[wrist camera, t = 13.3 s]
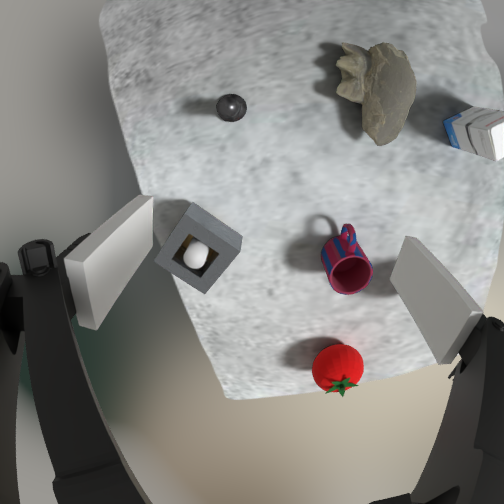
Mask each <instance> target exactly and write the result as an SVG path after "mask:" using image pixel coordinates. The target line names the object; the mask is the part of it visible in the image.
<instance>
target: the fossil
mask: <svg viewBox="0 0 504 504" xmlns="http://www.w3.org/2000/svg"><path fill="white" fill-rule="evenodd" d="M342 49H343V50H344V52H345V55H344V56H341V57H340V60H337V63H336V66H337V67H339V68H340V70H341V74H342V80H341V83H340V84H339V86H338V87H337V91H336V93H337V94H338V95H339V96H342V97H344V98H346V99H348V100H350V101H352V102H357V103H359V104H362V128H363V130H364V131H365V132H366V133H367V134H368V135H369V136H370V137H371V138H372V139H373V140H374V142H375V143H376V144H377V146H382V145H385V144H388V143H390V142H391V141H393V140H394V139H396V138H397V136H398V133H399V132H400V131H401V129H402V128H403V126H404V124H405V120H406V118H407V116H408V114H409V109H410V107H411V105H412V103H413V101H414V98H415V93H416V79H415V76H414V72H413V70H412V69H411V66H410V63H409V60H408V57H407V55H406V54H405V53H404V52H403V51H400V50H397V49H396V48H395V47H394V46H393V45H392V44H389V43H384V42H383V43H381V44H378V45H375V46H373V47H371V48H370V49H369V50H368V51H367V50H366V49H364V48H362V47H359V46H356V45H352V44H348V43H342Z"/></svg>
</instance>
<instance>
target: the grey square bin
mask: <svg viewBox="0 0 504 504" xmlns="http://www.w3.org/2000/svg"><path fill="white" fill-rule="evenodd" d="M188 234H191V235H192V236H194V237H195V238H197V239H198V240H200V241H201V242H203V243H204V244H206V245H207V246H209V247H210V248H212V249H213V250H215V251H214V252H213V253H212V255H211V256H210V257H209V259H208V260H207V261H205V263H204V265H203V266H202V267H200V268H197V269H194V268H190V267H189V266H187V265H186V264H185V262H184V254H185V252H186V250H187V248H185V247H184V246H182V245H181V244H182V243H183V241H184V240H185V239H186V237H187V236H188ZM242 237H243V236H241V235H240V234H239V233H237V232H236V231H234V230H233V229H231V228H230V227H228V226H227V225H226V224H224V223H223V222H221V221H220V220H218V219H217V218H215V217H214V216H213V215H211V214H210V213H208V212H207V211H205V210H204V209H202V208H201V207H199V206H198V205H197V204H195V203H194V202H192V204H191V205H190V206H189V208H188V209H187V211H186V212H185V213H184V215H183V216H182V218H181V219H180V221H179V222H178V224H177V225H176V227H175V229H174V230H173V232H172V233H171V235H170V236H169V238H168V239H167V241H166V242H165V244H164V246H163V247H162V249H161V250H160V252H159V253H158V255H157V257H156V258H155V260H154V262H156V263H157V264H158V265H160V266H161V267H163V268H165V269H166V270H168V271H169V272H171V273H172V274H174V275H175V276H177V277H178V278H180V279H181V280H183V281H185V282H186V283H188V284H189V285H191V286H192V287H194V288H196V289H197V290H199V291H200V292H202V293H204V294H206V292H207V291H208V290H209V289H210V287H211V286H212V285H213V284H214V283H215V281H216V280H217V279H218V278H219V277H220V275H221V274H222V273H223V272H224V271H225V269H226V268H227V267H228V266H229V265H230V263H231V262H232V261H233V260H234V259H235V257H236V256H237V255H238V254H239V253H240V250H241V244H242Z"/></svg>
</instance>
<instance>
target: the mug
mask: <svg viewBox="0 0 504 504" xmlns="http://www.w3.org/2000/svg"><path fill="white" fill-rule="evenodd" d="M347 234H349V236H347ZM321 259H322V263H323V265H324V268H325V271H326V274H327V277H328V280H329V283H330V285H331V287H332V288H333V289H334V290H335V291H336V292H338V293H340V294H345V295H349V294H354V293H357V292H359V291H361V290H362V289H364V288H365V287H366V286H367V285H368V284H369V282H370V280H371V278H372V274H373V269H372V265H371V263H370V261H369V260H368V258H367V257H366V255H365V253H364V252H363V250H362V249H361V247H360V246H359V244H358V243H357V241H356V233H355V230H354V228H353V226H352V225H351V224H344V225H343V227H342V230H341V235H340V236H337V237H334V238H332V239H330V240H329V241H328V242H327V243H326V244H325V245H324V247H323V249H322V252H321Z"/></svg>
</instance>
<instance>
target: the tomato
mask: <svg viewBox="0 0 504 504" xmlns="http://www.w3.org/2000/svg"><path fill="white" fill-rule="evenodd" d="M363 369H364V365H363V359H362V357H361V355H360V354H359V352H358V351H357V350H356V349H354V348H353V347H351V346H349V345H344V344H336V345H332V346H329V347H327V348H325V349H324V350H322V351H321V352H320V353H319V354H318V355H317V357H316V358H315V360H314V362H313V367H312V374H313V377H314V380H315V382H316V384H317V385H318V386H319V387H320V388H322V389H323V390H325V391H327V392H326V393H329V392H340V394H341V395H342V396H343V395H344V392H345V390H347V389H349V388H351V387H353V386H358V385H356V384H357V382H358V381H359V380H360V378H361V376H362V374H363Z"/></svg>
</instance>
